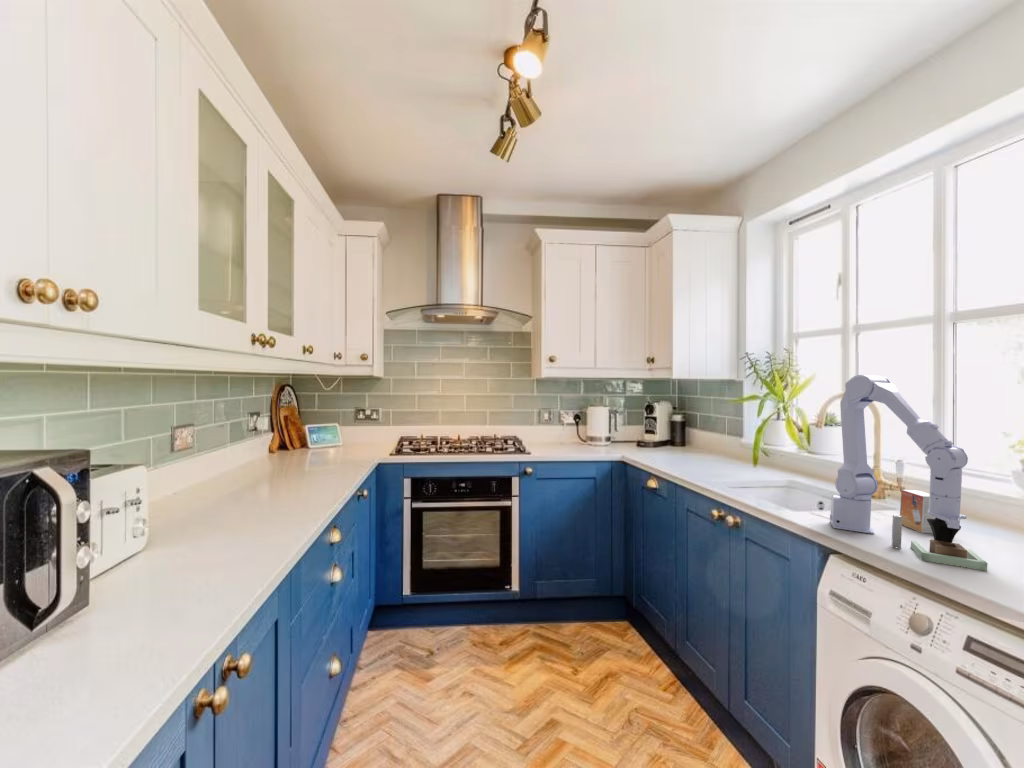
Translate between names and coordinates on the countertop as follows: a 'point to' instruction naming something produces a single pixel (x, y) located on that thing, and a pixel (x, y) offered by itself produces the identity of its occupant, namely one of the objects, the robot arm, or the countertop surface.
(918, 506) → the small box
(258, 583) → the countertop surface
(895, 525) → the grey upright post
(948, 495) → the robot arm
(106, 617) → the countertop surface
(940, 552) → the walnut block
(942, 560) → the green u-shaped bracket
